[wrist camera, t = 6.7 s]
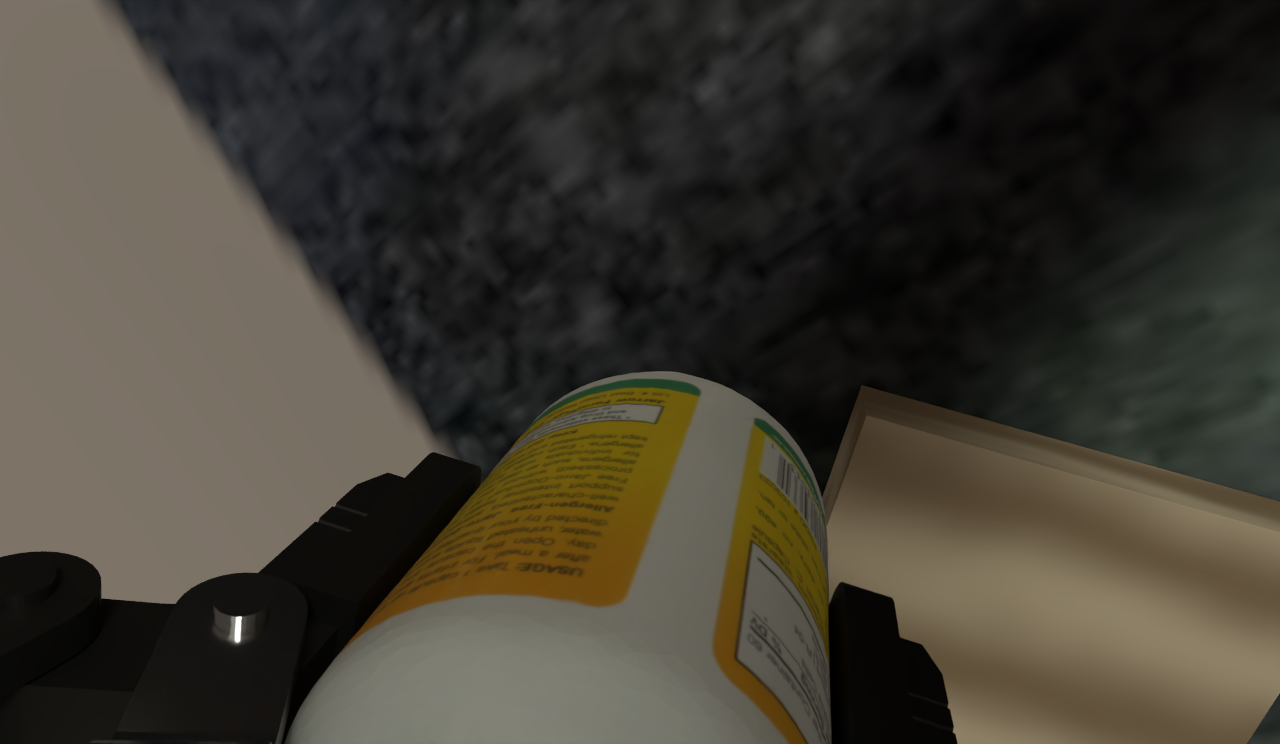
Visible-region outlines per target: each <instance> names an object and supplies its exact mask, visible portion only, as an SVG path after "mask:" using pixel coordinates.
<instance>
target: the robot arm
mask: <svg viewBox="0 0 1280 744" xmlns="http://www.w3.org/2000/svg"><path fill="white" fill-rule="evenodd" d="M480 482H481V469H480V467H479V466H476V465H473V464H470V463H466V462H463V461H460V460H457V459H454V458H450V457H447V456H444V455H441V454H438V453H435V452H432V453H430V454H429V455H428V456H427V457H426V458H425V459H424V460H423V461H422V462H421V463H420V464H419V465H418V466H417V467H416V468H415V469H414V470H413V471H411V472H410V473H409V474H408V475H407V476H406V477H405V478H403V477H400V476H397V475H393V474H390V473H386V474H383V475H381V476H378V477H375V478H373V479H370V480H368V481H365V482H362V483H360V484H357V485H356V486H355V487H354V488H353V489H351V490H350V491H349V492H348V493H347V494H346V495H345V496H344V497H343V498H341V499H340V500H339V501H338V502H337V503H336V506H335V507H331V508H330V509H329V510H328V511H327V512H326V513H325V514H323V515H322V516H321V517H320V519H319V521H318V523H317V522H315V523H313V524H312V525H311V526H310V527H309V528H308V529H307V530H306V531H304V532H303V533H302V534H301V535H300V536H299V537H298V538H297V539H296V540H294V541H293V542H292V543H291V544H290V545H289V546H288V547H287V548H286V549H284V550H283V551H282V552H281V553H280V554H279V555H278V556H277V557H275V558H274V559H273V560H272V561H271V562H270V563H269V564H268V565H266V567H264V568H263V569H262V570H261V571H260V572H259V573H235V574H228V575H223V576H219V577H216V578H213V579H209V580H207V581H205V582H202V583H200V584H198V585H196V586H195V587H193V588H191V589H190V590H189V591H187V592H186V593H185V594H184V595H183V596H182V597H181V598H180V599H179V600H178V601H177V603H176V604H160V603H148V602H136V601H124V600H111V599H101V577H100V574H99V572H98V570H97V569H96V568H95V567H94V566H93V565H92V564H90V563H89V562H88V561H86V560H84V559H81V558H79V557H77V556H73V555H70V554H65V553H59V552H27V553H18V554H13V555H8V556H4V557H0V744H284V743H285V740H286V738H287V735H288V732H289V729H290V727H291V725H292V723H293V721H294V719H295V717H296V715H297V713H298V711H299V709H300V707H301V705H302V704H303V702H304V700H305V699H306V697H307V696H308V694H309V692H310V691H311V689H312V688H313V686H314V685H315V684H316V683H317V681H318V680H319V679H320V677H321V676H322V675H323V673H324V672H325V671H326V670H327V668H328V667H329V666H330V664H331V663H332V662H333V661H334V659H335V658H336V657H337V656H338V654H339V653H340V652H341V651H342V650H343V648H344V647H345V646H346V645H347V643H348V642H349V641H350V640H351V639H352V637H353V636H354V635H355V634H356V633H357V632H358V631H359V630H360V628H361V627H362V626H363V625H364V623H365V622H366V621H367V620H368V618H369V617H370V616H371V615H372V613H373V612H374V611H375V610H376V609H377V607H378V606H379V605H380V604H381V603H382V602H383V600H384V599H385V598H386V597H387V596H388V594H389V593H390V592H391V591H392V590H393V588H394V587H395V586H396V585H397V584H398V583H399V582H400V581H401V580H402V578H403V577H404V576H405V575H406V573H407V572H408V571H409V570H410V569H411V568H412V567H413V565H414V564H415V563H416V562H417V561H418V559H419V558H420V557H421V556H422V555H423V554H424V552H425V551H426V550H427V549H428V548H429V547H430V545H431V544H432V543H433V542H434V540H435V539H436V538H437V537H438V535H439V534H440V533H441V532H442V530H443V529H444V528H445V527H446V526H447V525H448V524H449V523H450V522H451V520H452V519H453V518H454V516H455V515H456V514H457V513H458V511H459V510H460V509H461V508H462V507H463V506H464V505H465V503H466V502H467V501H468V500H469V498H470V497H471V496H472V495H473V494H474V493H475V491H476V490H477V489H478V488H479V487H480ZM828 609H829V657H830V705H831V727H832V744H958V743H957V739H956V734H955V733H953V729H954V725H953V720H952V716H951V711H950V709H949V708H948V704H949V702H948V697H947V693H946V688H945V684H944V679H943V674H942V673H941V671H940V670H939V668H938V667H937V665H936V664H935V663H934V661H933V660H932V658H931V657H930V655H929V654H928V652H927V651H926V649H925V648H924V646H923V645H922V644H919V643H916V642H913V641H910V640H907V639H904V638H901V637H900V635H899V629H898V622H897V616H896V609H895V603H894V600H893V598H891V597H889V596H885V595H882V594H879V593H876V592H873V591H870V590H866V589H863V588H860V587H857V586H854V585H851V584H847V583H844V582H840V583H839V584H838V586H837V587H836V589H835V591H834V593H833V596H832V598H831V601H830V603H829V608H828Z"/></svg>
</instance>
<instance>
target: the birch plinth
mask: <svg viewBox="0 0 1280 744" xmlns="http://www.w3.org/2000/svg"><path fill="white" fill-rule="evenodd" d="M822 500H823V505H824V511H825V517H826V527H827V543H828V576H829V603H830V601H831V598H832V596H833V593H834V591H835V589H836V587H837V586H838V584H839V583H840V582H844V583H847V584H851V585H854V586H857V587H860V588H863V589H866V590H870V591H873V592H876V593H879V594H882V595H885V596H889V597H891V598H893V600H894V603H895V609H896V616H897V622H898V629H899V635H900V637H901V638H904V639H907V640H910V641H913V642H916V643H919V644H922V645H923V646H924V648H925V649H926V651H927V652H928V654H929V655H930V657H931V658H932V660H933V661H934V663H935V664H936V665H937V667H938V668H939V670H940V671H941V673H942V674H943V679H944V684H945V688H946V693H947V697H948V702H949V704H948V708H949V709H950V711H951V716H952V720H953V725H954V729H953V733H955V734H956V739H957V743H958V744H1247V742H1248V741H1249V739H1250V738H1251V736H1252V735H1253V733H1254V732H1255V730H1256V729H1257V727H1258V726H1259V724H1260V722H1261V721H1262V719H1263V718H1264V716H1265V715H1266V713H1267V712H1268V710H1269V709H1270V707H1271V705H1272V704H1273V702H1274V701H1275V699H1276V698H1277V696H1278V695H1279V693H1280V502H1279V501H1275V500H1272V499H1268V498H1265V497H1261V496H1257V495H1254V494H1250V493H1247V492H1243V491H1240V490H1236V489H1232V488H1229V487H1225V486H1222V485H1218V484H1214V483H1211V482H1207V481H1204V480H1200V479H1197V478H1193V477H1189V476H1186V475H1182V474H1179V473H1175V472H1171V471H1168V470H1164V469H1161V468H1157V467H1153V466H1150V465H1146V464H1143V463H1139V462H1136V461H1132V460H1128V459H1125V458H1121V457H1118V456H1114V455H1110V454H1107V453H1103V452H1100V451H1096V450H1093V449H1089V448H1085V447H1082V446H1078V445H1075V444H1071V443H1067V442H1064V441H1060V440H1057V439H1053V438H1049V437H1046V436H1042V435H1039V434H1035V433H1032V432H1028V431H1024V430H1021V429H1017V428H1014V427H1010V426H1006V425H1003V424H999V423H996V422H992V421H989V420H985V419H981V418H978V417H974V416H971V415H967V414H963V413H960V412H956V411H953V410H949V409H946V408H942V407H938V406H935V405H931V404H928V403H924V402H920V401H917V400H913V399H910V398H906V397H902V396H899V395H895V394H892V393H888V392H885V391H881V390H877V389H874V388H870V387H867V386H863V385H861V388H860V391H859V394H858V397H857V400H856V402H855V405H854V408H853V411H852V414H851V417H850V420H849V422H848V425H847V428H846V431H845V434H844V437H843V439H842V442H841V445H840V448H839V451H838V454H837V457H836V459H835V462H834V465H833V468H832V471H831V474H830V477H829V479H828V482H827V485H826V488H825V491H824V494H823V496H822Z"/></svg>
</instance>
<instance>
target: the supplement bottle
mask: <svg viewBox="0 0 1280 744" xmlns="http://www.w3.org/2000/svg"><path fill="white" fill-rule="evenodd" d="M828 608H829V576H828V543H827V527H826V517H825V511H824V505H823V500H822V496H821V493H820V490H819V487H818V484H817V481H816V479H815V476H814V474H813V471H812V469H811V467H810V465H809V463H808V461H807V459H806V458H805V456H804V454H803V453H802V451H801V449H800V448H799V446H798V445H797V443H796V442H795V441H794V439H793V438H792V437H791V436H790V434H789V433H788V432H787V431H786V430H785V429H784V428H783V427H782V426H781V425H780V424H779V423H778V422H777V421H776V420H775V419H774V418H773V417H772V416H770V415H769V414H768V413H767V412H766V411H765V410H763V409H762V408H761V407H759V406H758V405H756V404H755V403H754V402H752V401H751V400H750V399H748V398H746V397H744V396H743V395H741V394H739V393H737V392H735V391H734V390H732V389H730V388H728V387H725V386H723V385H721V384H718V383H715V382H712V381H709V380H706V379H703V378H699V377H695V376H691V375H687V374H683V373H679V372H669V371H657V372H641V373H630V374H625V375H619V376H613V377H609V378H605V379H602V380H599V381H595V382H592V383H590V384H587V385H585V386H583V387H580V388H578V389H576V390H574V391H572V392H570V393H569V394H567V395H565V396H563V397H562V398H561V399H559V400H558V401H556V402H555V403H553V404H552V405H551V406H549V407H548V408H547V409H546V410H545V411H544V412H543V413H542V414H540V415H539V416H538V417H537V418H536V420H535V421H534V422H533V423H532V424H531V425H529V427H528V428H527V429H526V430H525V432H524V433H523V434H522V435H521V437H520V438H519V439H518V440H517V441H516V443H515V444H514V445H513V446H512V448H511V449H510V450H509V451H508V453H507V454H506V455H505V456H504V457H503V458H502V459H501V461H500V462H499V463H498V464H497V465H496V467H495V468H494V469H493V470H492V472H491V473H490V474H489V476H488V477H487V478H486V479H485V481H484V482H483V483H482V484H481V485H480V487H479V488H478V489H477V490H476V491H475V493H474V494H473V495H472V496H471V497H470V498H469V500H468V501H467V502H466V503H465V505H464V506H463V507H462V508H461V509H460V510H459V511H458V513H457V514H456V515H455V516H454V518H453V519H452V520H451V522H450V523H449V524H448V525H447V526H446V527H445V528H444V529H443V530H442V532H441V533H440V534H439V535H438V537H437V538H436V539H435V540H434V542H433V543H432V544H431V545H430V547H429V548H428V549H427V550H426V551H425V552H424V554H423V555H422V556H421V557H420V558H419V559H418V561H417V562H416V563H415V564H414V565H413V567H412V568H411V569H410V570H409V571H408V572H407V573H406V575H405V576H404V577H403V578H402V580H401V581H400V582H399V583H398V584H397V585H396V586H395V587H394V588H393V590H392V591H391V592H390V593H389V594H388V596H387V597H386V598H385V599H384V600H383V602H382V603H381V604H380V605H379V606H378V607H377V609H376V610H375V611H374V612H373V613H372V615H371V616H370V617H369V618H368V620H367V621H366V622H365V623H364V625H363V626H362V627H361V628H360V630H359V631H358V632H357V633H356V634H355V635H354V636H353V637H352V639H351V640H350V641H349V642H348V643H347V645H346V646H345V647H344V648H343V650H342V651H341V652H340V653H339V654H338V656H337V657H336V658H335V659H334V661H333V662H332V663H331V664H330V666H329V667H328V668H327V670H326V671H325V672H324V673H323V675H322V676H321V677H320V679H319V680H318V681H317V683H316V684H315V685H314V686H313V688H312V689H311V691H310V692H309V694H308V696H307V697H306V699H305V700H304V702H303V704H302V705H301V707H300V709H299V711H298V713H297V715H296V717H295V719H294V721H293V723H292V725H291V727H290V729H289V732H288V735H287V738H286V740H285V743H284V744H832V727H831V705H830V657H829V609H828Z"/></svg>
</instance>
